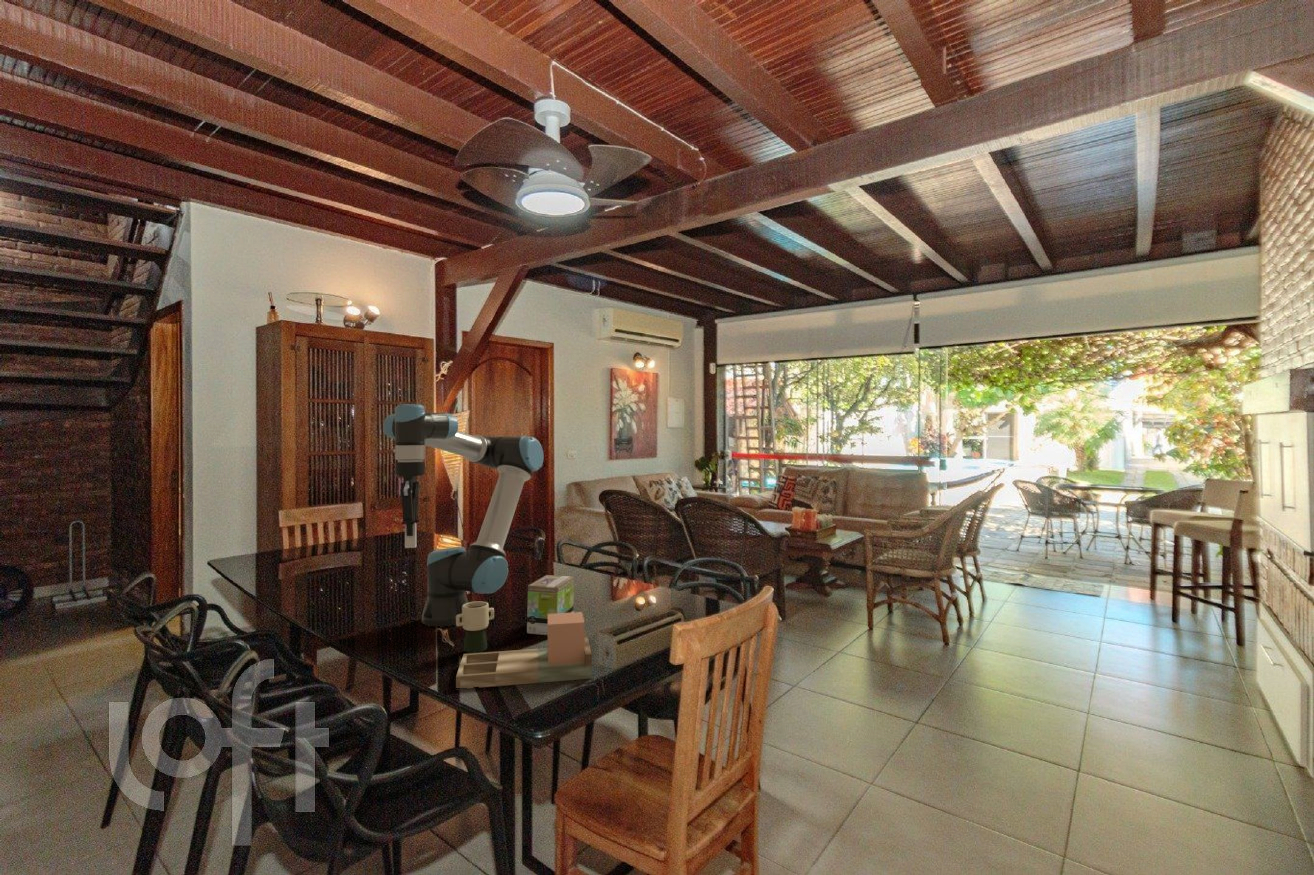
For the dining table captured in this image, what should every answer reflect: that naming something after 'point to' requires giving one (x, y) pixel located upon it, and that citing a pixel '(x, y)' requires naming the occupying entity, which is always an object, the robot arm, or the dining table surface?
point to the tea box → (548, 601)
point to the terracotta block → (566, 638)
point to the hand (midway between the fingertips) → (410, 547)
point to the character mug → (475, 625)
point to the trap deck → (518, 668)
